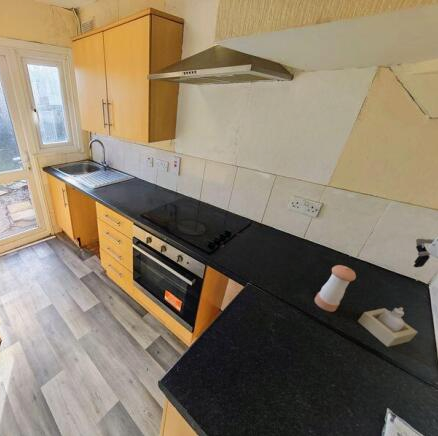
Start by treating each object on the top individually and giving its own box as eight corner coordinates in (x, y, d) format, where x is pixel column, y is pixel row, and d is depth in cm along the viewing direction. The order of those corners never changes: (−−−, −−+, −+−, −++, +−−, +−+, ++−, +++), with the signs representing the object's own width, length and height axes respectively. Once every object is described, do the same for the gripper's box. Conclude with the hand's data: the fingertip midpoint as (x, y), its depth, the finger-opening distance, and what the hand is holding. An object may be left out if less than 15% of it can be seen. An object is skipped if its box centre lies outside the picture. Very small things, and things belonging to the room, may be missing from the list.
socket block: (377, 316, 86) (384, 308, 84) (409, 341, 78) (418, 332, 75) (357, 321, 84) (364, 312, 82) (387, 347, 76) (395, 337, 73)
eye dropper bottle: (385, 326, 83) (405, 303, 77) (394, 340, 78) (415, 317, 72) (371, 322, 84) (389, 300, 78) (378, 335, 79) (398, 312, 74)
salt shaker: (334, 315, 86) (359, 277, 77) (312, 304, 91) (333, 267, 81) (337, 303, 91) (360, 267, 82) (316, 294, 95) (336, 258, 86)
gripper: (542, 245, 54) (488, 296, 62) (444, 213, 69) (411, 257, 77) (522, 249, 52) (469, 301, 60) (426, 215, 67) (395, 260, 75)
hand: (437, 276), depth 69 cm, fingers open, 9 cm apart
